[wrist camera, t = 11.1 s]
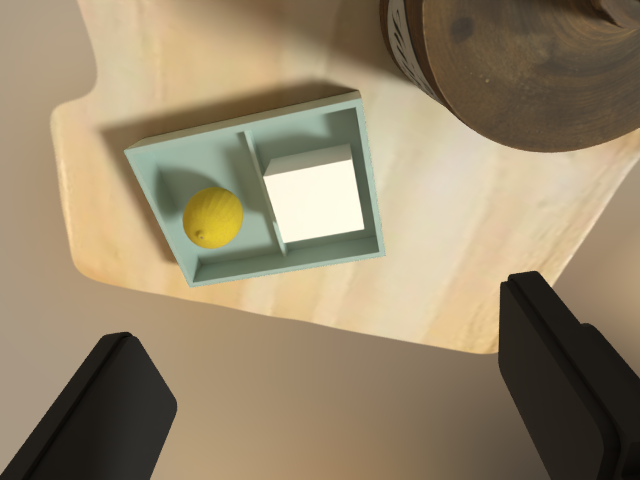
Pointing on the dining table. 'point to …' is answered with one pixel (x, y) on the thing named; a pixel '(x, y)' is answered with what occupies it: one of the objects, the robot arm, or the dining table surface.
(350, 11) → the dining table surface
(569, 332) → the robot arm
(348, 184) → the carton
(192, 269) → the tray
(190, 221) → the lemon
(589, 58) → the wooden container
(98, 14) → the dining table surface
